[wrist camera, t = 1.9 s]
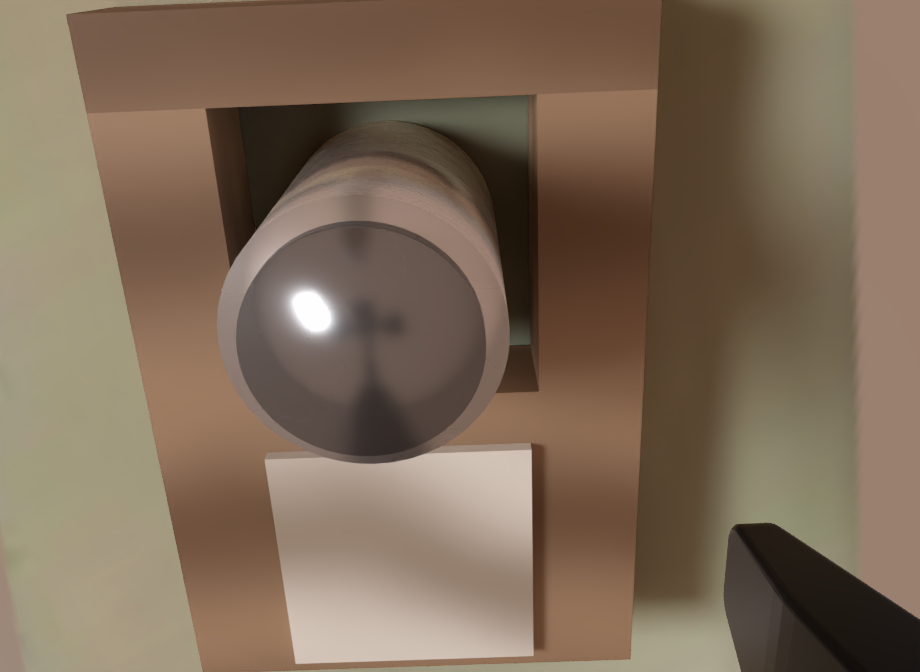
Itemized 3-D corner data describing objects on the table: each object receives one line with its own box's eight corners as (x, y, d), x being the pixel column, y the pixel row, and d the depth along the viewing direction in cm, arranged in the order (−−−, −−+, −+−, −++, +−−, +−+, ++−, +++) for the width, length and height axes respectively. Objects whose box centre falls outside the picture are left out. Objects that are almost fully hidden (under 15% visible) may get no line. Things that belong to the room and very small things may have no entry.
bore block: (614, 593, 25) (632, 667, 22) (226, 607, 25) (200, 682, 22) (637, -17, 18) (665, -12, 16) (114, 7, 18) (59, 15, 16)
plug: (497, 315, 21) (513, 471, 15) (301, 323, 21) (233, 481, 15) (491, 116, 19) (508, 196, 13) (277, 125, 19) (187, 208, 13)
